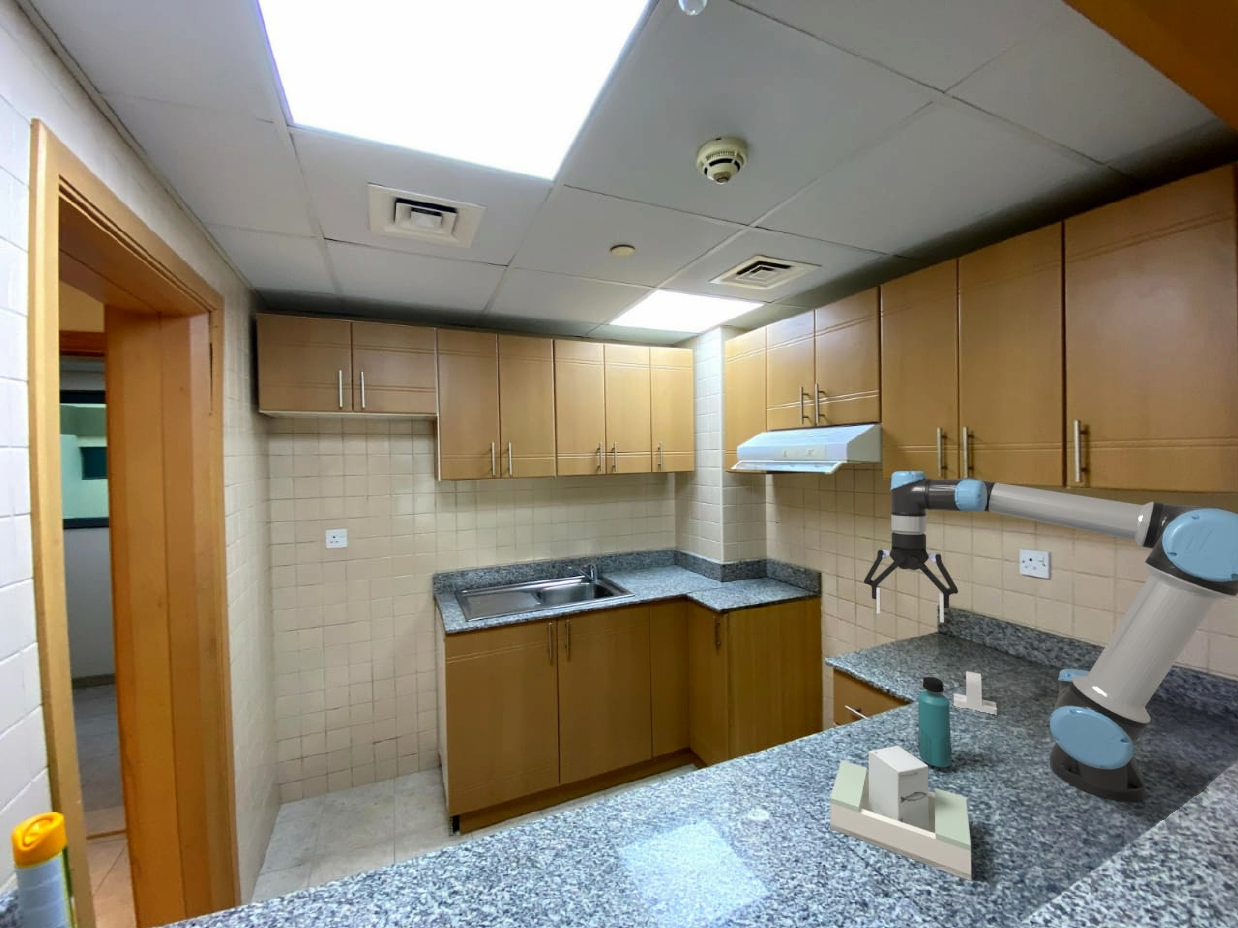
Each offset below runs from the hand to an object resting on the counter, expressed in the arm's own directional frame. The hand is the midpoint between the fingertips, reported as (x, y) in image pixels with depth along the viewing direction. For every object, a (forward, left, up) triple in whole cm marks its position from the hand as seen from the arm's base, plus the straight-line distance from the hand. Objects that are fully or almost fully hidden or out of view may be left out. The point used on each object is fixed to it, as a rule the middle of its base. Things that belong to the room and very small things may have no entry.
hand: (909, 616), depth 122 cm
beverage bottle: (-5, +8, -32) cm, 33 cm away
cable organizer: (-15, -30, -32) cm, 46 cm away
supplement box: (+1, +35, -31) cm, 47 cm away
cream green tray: (+1, +35, -32) cm, 47 cm away
